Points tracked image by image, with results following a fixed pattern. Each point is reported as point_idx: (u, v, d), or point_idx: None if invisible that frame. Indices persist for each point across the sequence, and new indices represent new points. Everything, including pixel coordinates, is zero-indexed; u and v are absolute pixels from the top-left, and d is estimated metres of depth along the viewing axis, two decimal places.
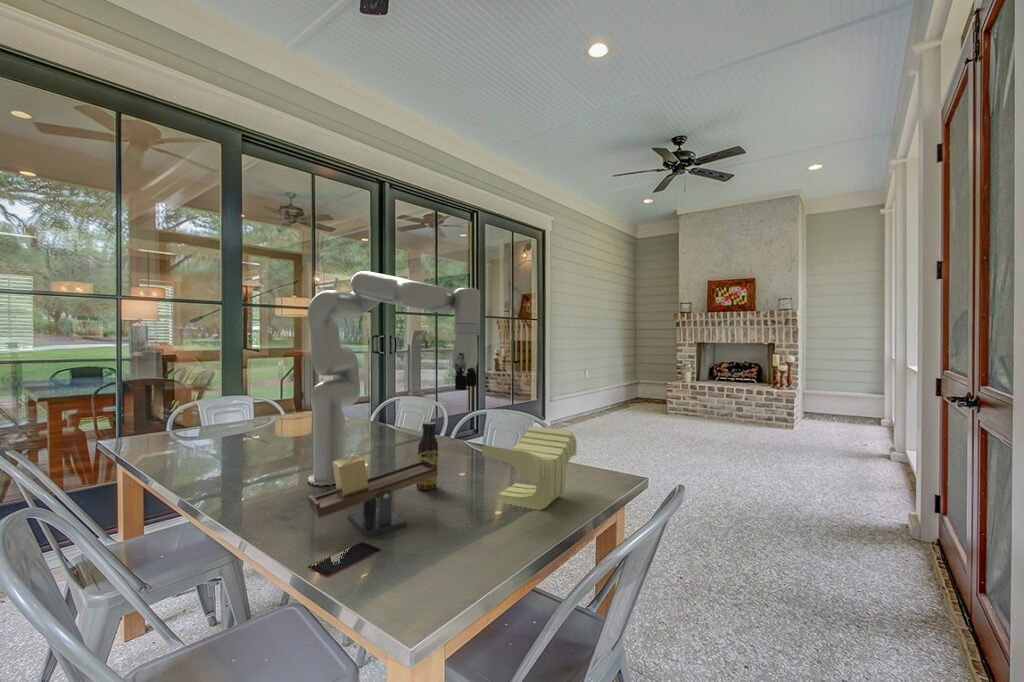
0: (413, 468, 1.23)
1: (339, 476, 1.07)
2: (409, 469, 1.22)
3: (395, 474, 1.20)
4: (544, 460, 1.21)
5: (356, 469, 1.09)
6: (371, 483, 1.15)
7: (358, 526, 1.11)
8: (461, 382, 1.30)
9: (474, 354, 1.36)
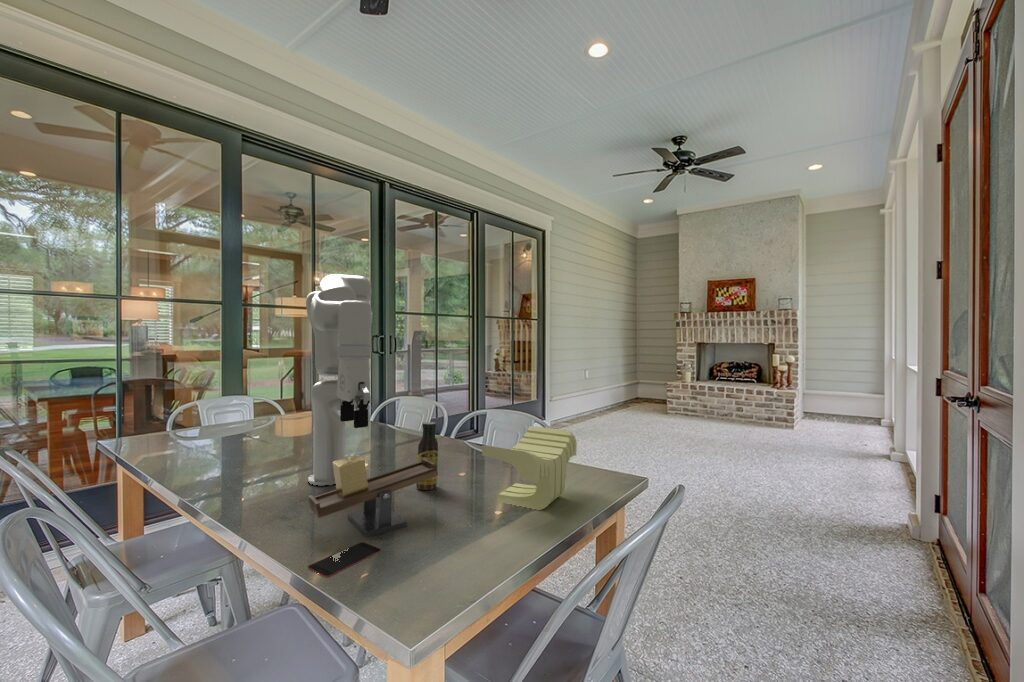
0: (413, 468, 1.23)
1: (339, 476, 1.07)
2: (409, 469, 1.22)
3: (395, 474, 1.20)
4: (544, 460, 1.21)
5: (356, 469, 1.09)
6: (371, 483, 1.15)
7: (358, 526, 1.11)
8: (364, 418, 1.06)
9: None
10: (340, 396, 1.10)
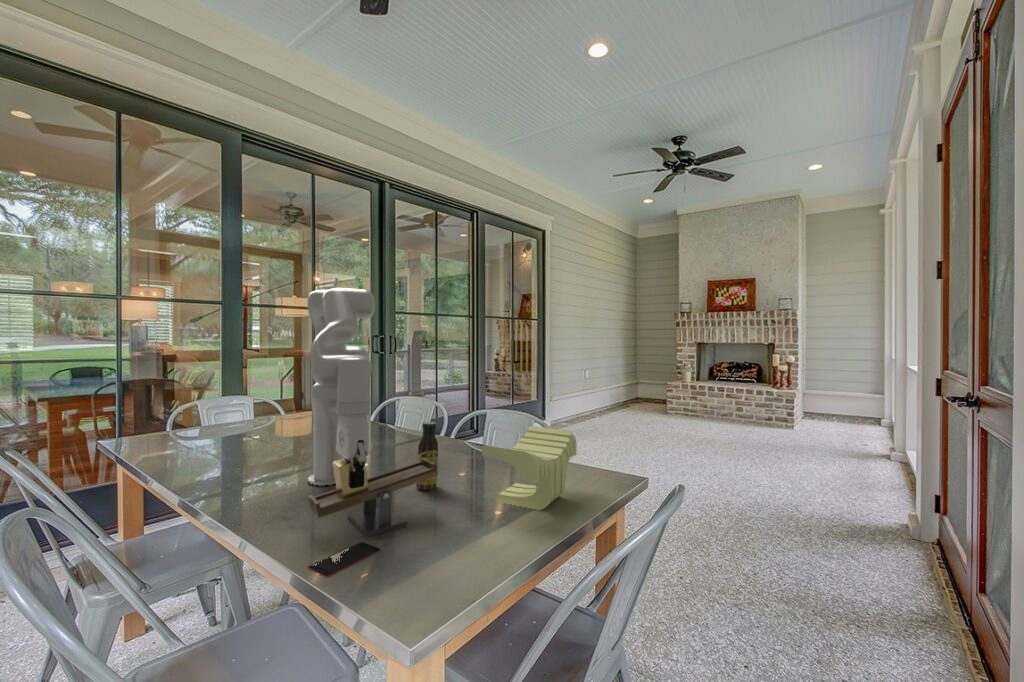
0: (413, 468, 1.23)
1: (339, 476, 1.07)
2: (409, 469, 1.22)
3: (395, 474, 1.20)
4: (544, 460, 1.21)
5: None
6: (371, 483, 1.15)
7: (358, 526, 1.11)
8: (360, 478, 1.08)
9: None
10: (339, 452, 1.10)
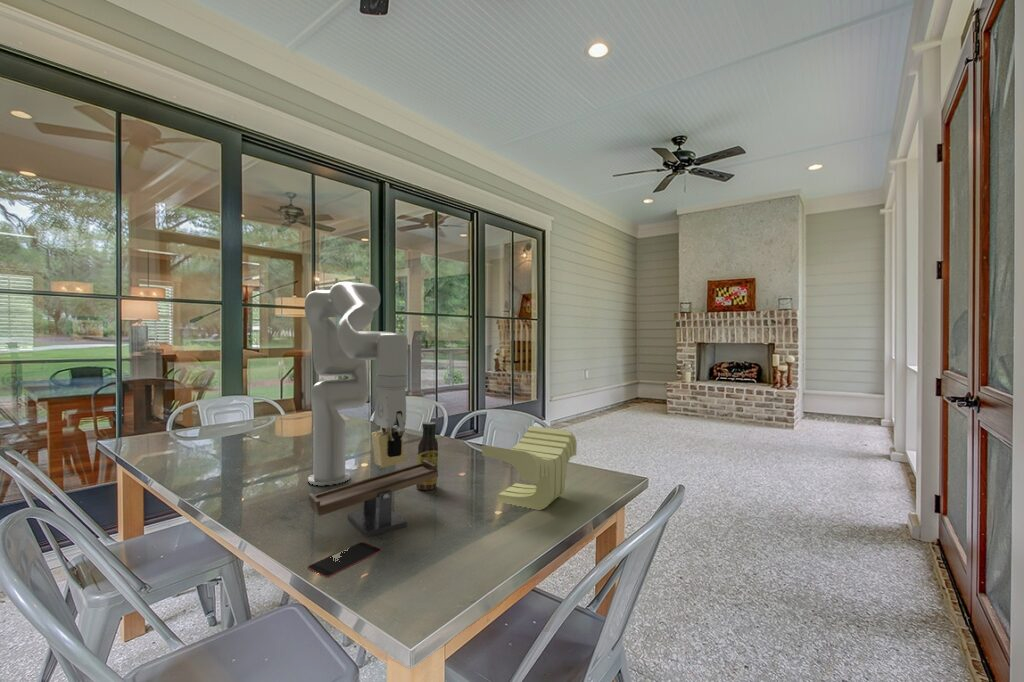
0: (413, 469, 1.23)
1: (378, 445, 1.13)
2: (409, 470, 1.23)
3: (395, 475, 1.20)
4: (544, 460, 1.21)
5: None
6: (371, 483, 1.15)
7: (358, 526, 1.11)
8: (398, 447, 1.14)
9: None
10: (377, 422, 1.16)
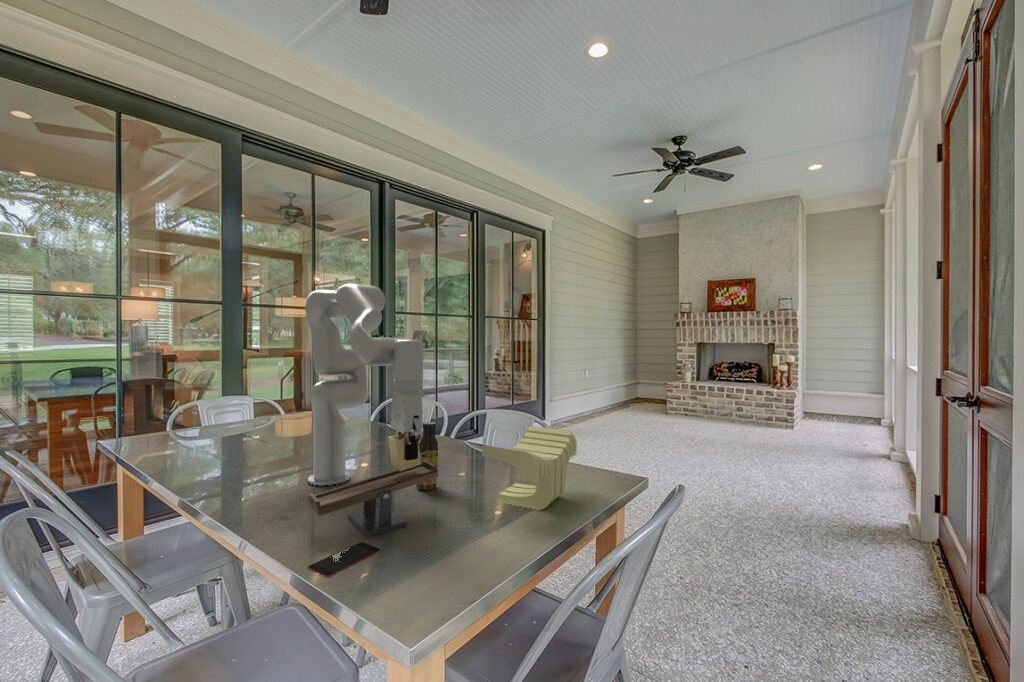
0: (413, 469, 1.23)
1: (395, 449, 1.16)
2: (409, 470, 1.23)
3: (395, 475, 1.20)
4: (544, 460, 1.21)
5: None
6: (371, 483, 1.15)
7: (358, 526, 1.11)
8: (415, 451, 1.17)
9: None
10: (394, 427, 1.19)
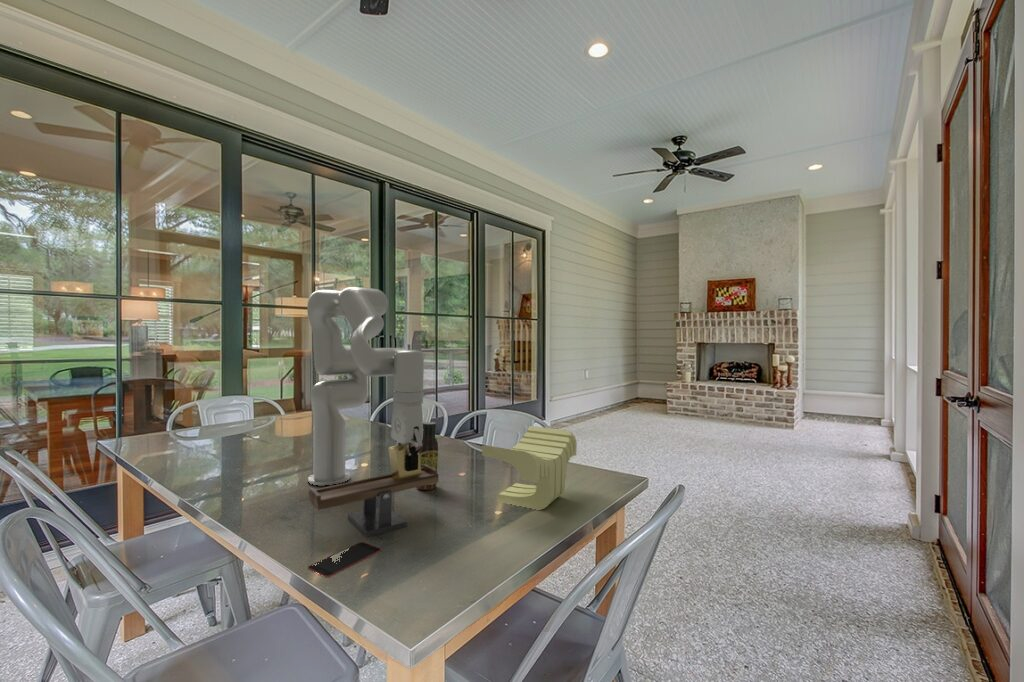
0: None
1: (396, 460, 1.16)
2: None
3: None
4: (544, 460, 1.21)
5: None
6: (371, 483, 1.15)
7: (358, 526, 1.11)
8: (415, 462, 1.17)
9: None
10: (394, 437, 1.19)
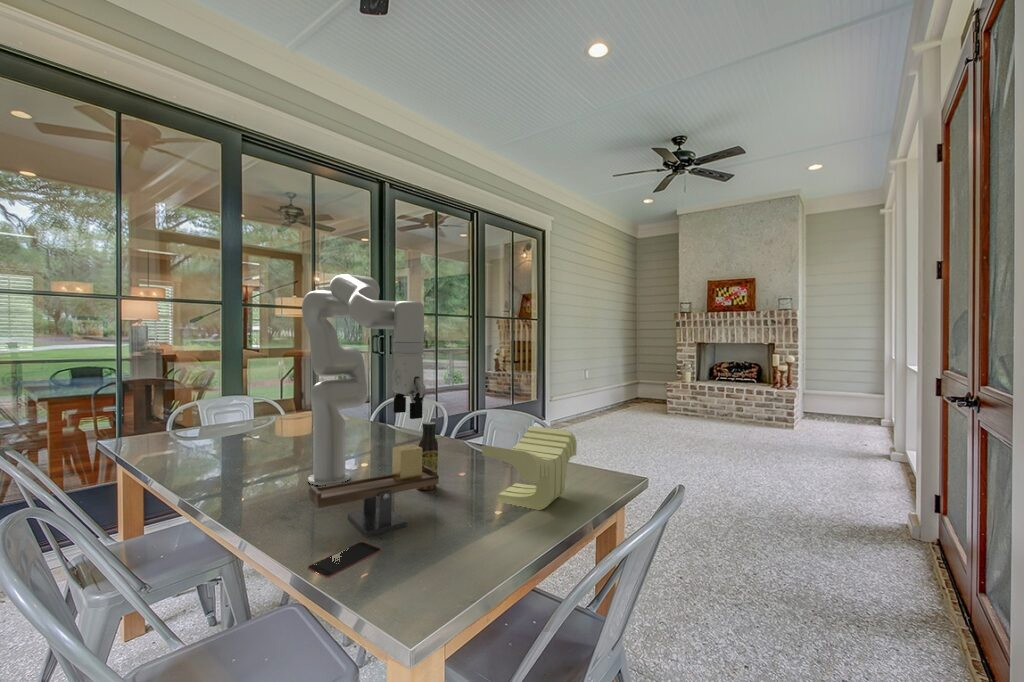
0: None
1: (399, 460, 1.17)
2: None
3: None
4: (544, 460, 1.21)
5: (414, 456, 1.18)
6: (371, 483, 1.15)
7: (358, 526, 1.11)
8: (419, 409, 1.15)
9: None
10: (395, 389, 1.19)
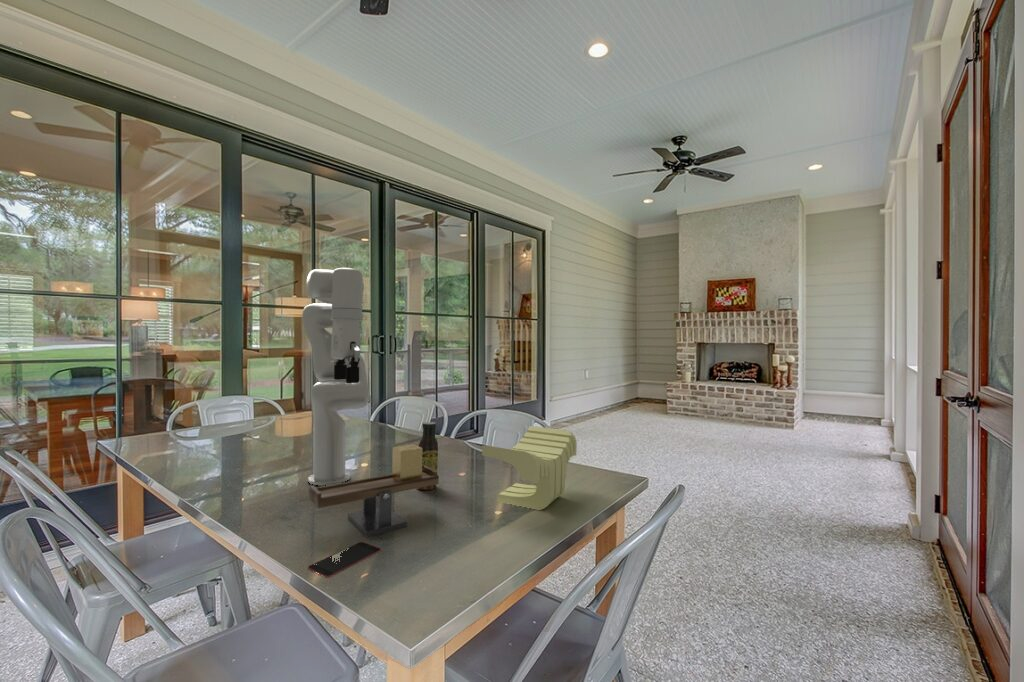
0: None
1: (399, 460, 1.17)
2: None
3: None
4: (544, 460, 1.21)
5: (414, 456, 1.18)
6: (371, 483, 1.15)
7: (358, 526, 1.11)
8: (355, 374, 1.17)
9: None
10: (333, 355, 1.21)
